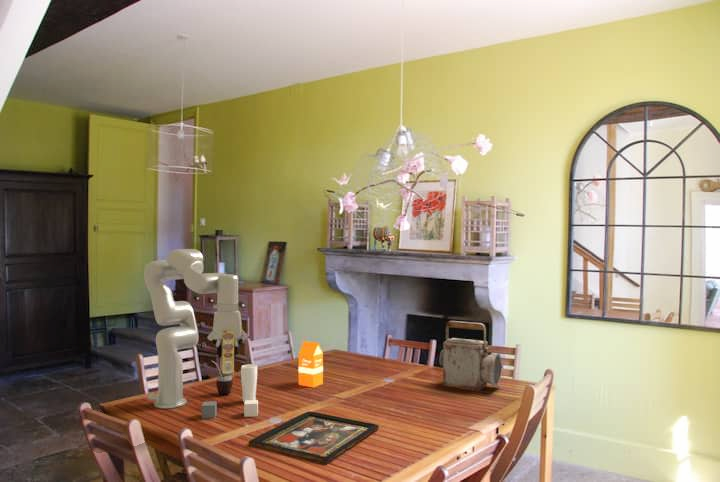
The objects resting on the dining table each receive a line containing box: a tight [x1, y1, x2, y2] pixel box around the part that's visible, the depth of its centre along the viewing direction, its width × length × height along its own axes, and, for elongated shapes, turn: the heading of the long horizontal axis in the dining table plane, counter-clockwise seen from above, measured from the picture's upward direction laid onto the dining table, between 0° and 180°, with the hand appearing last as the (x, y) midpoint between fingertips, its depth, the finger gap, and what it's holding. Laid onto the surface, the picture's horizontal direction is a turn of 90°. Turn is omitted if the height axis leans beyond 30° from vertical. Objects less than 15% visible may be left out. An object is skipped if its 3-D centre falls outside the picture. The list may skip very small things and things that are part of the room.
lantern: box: [438, 320, 503, 392], centre depth 254 cm, size 16×27×30 cm, turn 60°
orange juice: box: [298, 340, 324, 388], centre depth 256 cm, size 8×9×20 cm
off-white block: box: [243, 399, 259, 418], centre depth 212 cm, size 5×5×5 cm
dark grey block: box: [201, 400, 218, 419], centre depth 210 cm, size 5×5×5 cm
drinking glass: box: [240, 363, 258, 403], centre depth 228 cm, size 7×7×15 cm
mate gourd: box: [211, 360, 234, 397], centre depth 239 cm, size 8×8×15 cm
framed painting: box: [248, 411, 380, 465], centre depth 188 cm, size 38×35×3 cm
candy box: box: [220, 331, 235, 375], centre depth 201 cm, size 9×4×15 cm, turn 19°
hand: (227, 356), depth 201 cm, fingers closed on candy box, 4 cm apart
